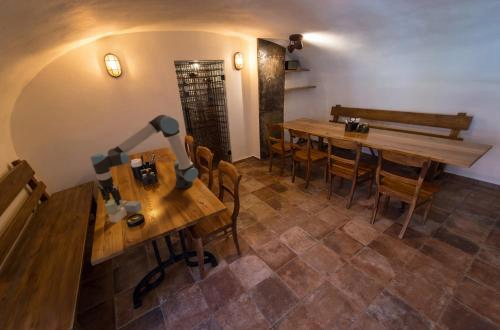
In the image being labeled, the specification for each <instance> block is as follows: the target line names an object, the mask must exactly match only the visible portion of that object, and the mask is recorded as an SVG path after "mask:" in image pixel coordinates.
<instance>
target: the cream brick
mask: <svg viewBox="0 0 500 330" xmlns="http://www.w3.org/2000/svg"><path fill="white" fill-rule="evenodd" d="M107 215H108V218H109V221H110V223H114V224H115V223H119V222H120V221H121V220H122V219H123V218H125V217H126V216H128V212H126V210H125V208H124V207H122V208H121V209H119V210H118V211H116V212H115V213H113V214H112V213H107Z"/></svg>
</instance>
